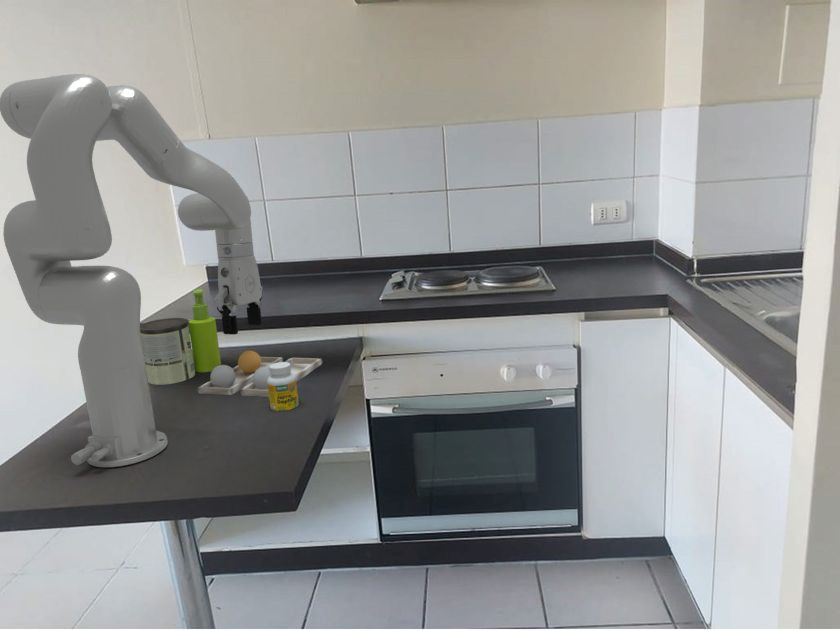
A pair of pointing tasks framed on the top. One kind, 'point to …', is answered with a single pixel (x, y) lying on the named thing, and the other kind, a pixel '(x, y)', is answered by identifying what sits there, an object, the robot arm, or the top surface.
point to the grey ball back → (222, 376)
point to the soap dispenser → (203, 336)
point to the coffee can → (167, 351)
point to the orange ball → (249, 361)
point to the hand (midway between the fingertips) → (243, 329)
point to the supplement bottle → (282, 387)
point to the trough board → (242, 379)
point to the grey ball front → (261, 377)
